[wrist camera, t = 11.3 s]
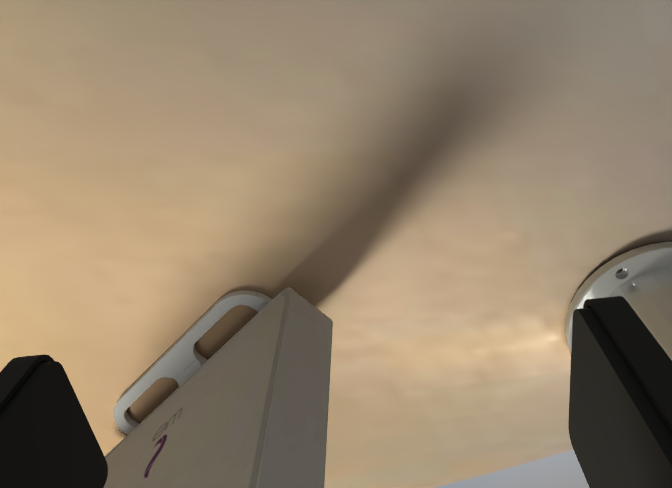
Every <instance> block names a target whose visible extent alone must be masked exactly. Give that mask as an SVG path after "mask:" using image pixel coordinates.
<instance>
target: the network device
mask: <svg viewBox="0 0 672 488" xmlns="http://www.w3.org/2000/svg"><path fill="white" fill-rule="evenodd" d="M237 305H246V306H249V307H251V308H253V309H254V310H256V311H257V312H258V314H257V315H256V316H254V317H253V318H252V319H251V320H250V321H249V322H248V323H247V324H246V325H245V326H244V327H243V328H242V329H241V330H240V331H238V332H237V333H236V334H235V335H234V336H233V337H232V338H231V339H230V340H229V341H228V342H227V343H226V344H225V345H223V346H222V347H221V348H220V349H219V350H218V351H217V352H216V353H215V354H214V355H213V356H212V357H211V358H210V359H209V360H207V359H206V358H204V357H203V356H201V355H200V354H199V353H198V352H197V351H196V349H195V343H196V342H197V341H198V340H199V339H200V338H201V337H202V336H203V335H204V334H205V333H206V332H207V331H208V330H209V329H210V328H211V327H212V326H213V325H214V324H215V323H216V322H217V321H218V320H219V319H220V318H221V317H223V316H224V315H225V314H226V313H227V312H228V311H229V310H230V309H231V308H232V307H234V306H237ZM332 327H333V322H332V320H331V319H330V318H329V317H327V316H326V315H325V314H323V313H322V312H321V311H320V310H318V309H317V308H316V307H315V306H313V305H312V304H311V303H309V302H308V301H307V300H306V299H304V298H303V297H302V296H300V295H299V294H298V293H297V292H295V291H294V290H293V289H292V288H286V289H284V290H283V291H281V292H280V293H279V294H278V295H277V296H276V297H275V298H274V299H271V298H270V297H268V296H266V295H264V294H262V293H259V292H255V291H250V290H239V291H235V292H231V293H229V294H226V295H224V296H223V297H222V298H220V299H219V300H218V301H217V302H216V303H215V304H214V305H213V306H212V307H211V308H210V309H209V310H208V311H207V312H206V313H205V314H204V315H203V316H202V317H201V318H200V319H199V320H198V321H197V322H196V323H195V324H194V325H193V326H192V327H191V328H190V329H188V330H187V331H186V332H185V333H184V334H183V335H182V336H181V337H180V338H179V339H178V340H177V341H176V342H175V343H174V344H173V345H172V346H171V347H170V348H169V349H168V350H167V351H166V352H165V353H164V354H163V355H162V356H161V357H160V358H159V359H158V360H157V361H156V362H155V363H154V364H153V365H152V366H151V367H150V368H149V369H148V370H147V371H146V372H145V373H144V374H143V375H142V376H141V377H140V378H139V379H138V380H137V381H136V382H135V383H134V384H133V385H132V386H131V387H130V388H129V389H128V390H127V391H126V392H125V393H124V394H123V395H122V396H121V397H120V398H119V400H118V402H117V404H116V406H115V408H114V419H115V422H116V424H117V425H118V427H119V428H120V429H121V430H122V431H123V432H124V433H125V434H126V435H127V436H126V437H125V438H124V439H123V440H122V441H121V442H120V443H119V444H118V445H117V446H116V447H114V448H113V449H112V450H111V451H110V452H109V453H108V454H107V455H106V456H105V459H106V462H107V465H108V476H107V480H106V483H105V485H104V487H103V488H324V479H325V460H326V441H327V422H328V403H329V384H330V365H331V346H332ZM160 378H172V379H175V380H176V382H177V383H178V385H179V388H178V389H176V390H175V391H174V392H173V393H172V394H171V395H170V396H169V397H168V398H167V399H166V400H165V401H164V402H163V403H161V404H160V405H159V406H158V407H157V408H156V409H155V410H154V411H153V412H152V413H151V414H150V415H149V416H148V417H147V418H145V419H144V420H143V421H142V422H141V423H140V424H139V423H138V422H136V421H134V420H133V419H131V418H130V417H129V415H128V414H127V408H128V407H129V406H130V405H131V404H132V403H134V402H135V401H136V400H137V399H138V398H139V397H140V396H141V395H142V394H143V393H144V392H145V391H146V390H147V389H148V388H149V387H150V386H151V385H152V384H153V383H154V382H155V381H156V380H158V379H160Z"/></svg>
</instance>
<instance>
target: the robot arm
mask: <svg viewBox="0 0 672 488" xmlns="http://www.w3.org/2000/svg"><path fill="white" fill-rule="evenodd" d="M564 332H565V338H566V343H567V346H568V348H569V350H570V352H571V375H570V401H569V434H570V439H571V443H572V446H573V449H574V451H575V454H576V456H577V459H578V461H579V463H580V466H581V468H582V470H583V473H584V475H585V477H586V480H587V482H588V484H589V487H590V488H672V242H662V243H655V244H649V245H646V246H642V247H639V248H636V249H632V250H630V251H628V252H626V253H624V254H621V255H619V256H617V257H615V258H614V259H612V260H610V261H609V262H607V263H606V264H604V265H603V266H601V267H600V268H599V269H598V270H596V271H595V272H594V273H593V274H592V275H591V276H590V277H589V278H588V279H587V280H586V281H585V282H584V283H583V285H582V286H581V287H580V288H579V290H578V291H577V292H576V294H575V296H574V298H573V299H572V301H571V303H570V305H569V308H568V311H567V315H566V318H565V331H564ZM107 476H108V465H107V462H106V459H105V457H104V455H103V453H102V451H101V448H100V446H99V444H98V442H97V440H96V438H95V435H94V433H93V431H92V429H91V427H90V425H89V422H88V420H87V418H86V416H85V414H84V412H83V409H82V407H81V405H80V403H79V401H78V399H77V396H76V394H75V392H74V390H73V388H72V386H71V384H70V381H69V379H68V377H67V375H66V373H65V371H64V368H63V367H62V365H61V364H60V363H59V362H56V361H54V360H53V358H51V357H50V356H49V355H35V356H26V357H17V358H14V359H12V360H11V361H10V362H9V363H8V364H7V365H6V366H5V368H4V369H3V370H2V371H1V372H0V488H103V487H104V485H105V483H106V480H107Z"/></svg>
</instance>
